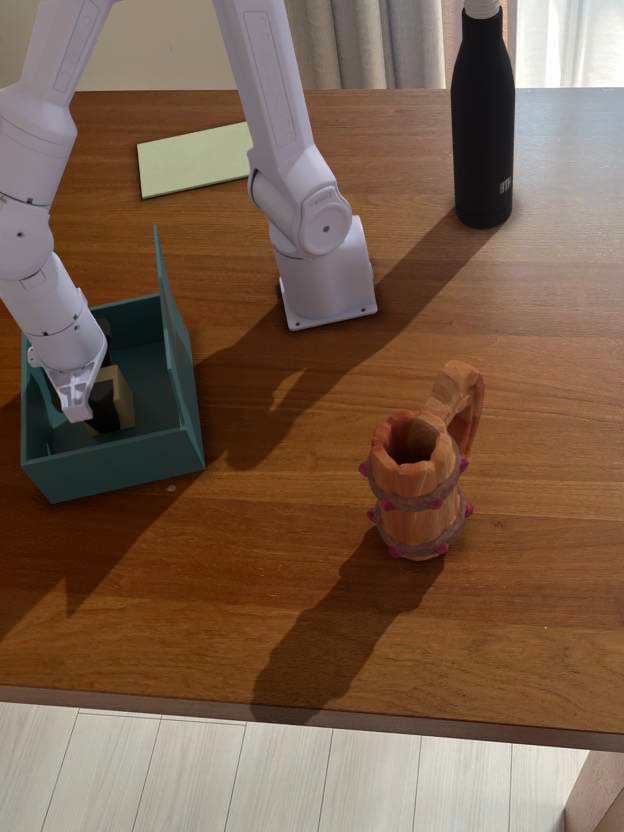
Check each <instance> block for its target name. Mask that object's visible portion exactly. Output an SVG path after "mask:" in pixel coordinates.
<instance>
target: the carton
mask: <svg viewBox="0 0 624 832" xmlns="http://www.w3.org/2000/svg"><path fill="white" fill-rule="evenodd" d="M171 300H172V309H173V318H174V327H175V336H176V345H177V354H178V363H179V372H180V381H181V390H182V399H183V408H184V417H185V425H182V423H181V419H180V416H179V412H178V408H177V404H176V400H175V396H174V392H173V388H172V385H171V381H170V377H169V373H168V369H167V359H166V349H165V340H164V330H163V320H162V310H161V301H160V291H159V292H155V293H151V294H145V295H142V296H136V297H132V298H128V299H121V300H117V301H114V302H109V303H104V304H100V305H95V306H91V307H88V309H89V311H90V312H91V314H92V315H93V317H94V319H100V318H101V319H105V320H107V321H108V323H109V325H110V336H111V338H110V345H109V348H110V353H111V358H112V362H113V365H117V366H118V368H119V369H120V371H121V373H122V375H123V377H124V378H125V380H126V382H127V384H128V386H129V387H130V389H131V391H132V393H133V405H134V419H135V427H130V428H126V429H121V430H119V431H114V432H110V433H105V434H98V435H94V436H91V434H90V433H89V431H88V430H87V428H86V427H85V425H84V424H83V422H82V421H79V422H74V423H70V421H69V420H68V418H67V417H66V415H65V414H64V413H60V412H58V411H57V410H56V409H55V408H54V406H53V405H52V403H51V388H54V386H53V384H52V382H51V381H50V379H49V377H48V375H47V373H46V372H45V370H44V368H43V367H31V365H30V364H29V362H28V349H29V348H30V347H32V345H31V343H30V342H29V340H28V339H27V337H26V336H25V334H24V333H23V331H22V330H21V336H20V337H21V346H20V347H21V348H20V349H21V350H20V351H21V353H20V356H21V359H20V360H21V362H20V363H21V364H20V468H21V469H22V470H23V471H24V472H25V473H26V474H27V476H28V477H29V478H30V480H31V481H32V482H33V483H34V484H35V486H36V487H37V488H38V490H40V492H41V493H42V494H43V495H44V497H45V498H46V499H47V500H48V502H49V503H50V504H51V505H54V504H59V503H63V502H68V501H72V500H77V499H81V498H86V497H89V496H90V497H91V496H94V495H99V494H103V493H107V492H112V491H116V490H121V489H126V488H130V487H134V486H138V485H139V486H140V485H144V484H147V483H153V482H156V481H162V480H166V479H170V478H176V477H179V476H184V475H188V474H192V473H197V472H201V471H205V470H206V461H205V452H204V445H203V438H202V437H203V436H202V430H201V429H202V428H201V421H200V412H199V406H198V405H199V404H198V396H197V388H196V387H197V386H196V379H195V372H194V364H193V355H192V346H191V339H190V333H189V331H188V328H187V326H186V324H185V321H184V319H183V317H182V314H181V312H180V309H179V307H178V305H177V303H176V300H175V298H174V296H173V294H172V292H171Z"/></svg>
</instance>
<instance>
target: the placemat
mask: <svg viewBox="0 0 624 832" xmlns="http://www.w3.org/2000/svg"><path fill="white" fill-rule="evenodd" d="M252 146H253V142H252V138H251V135H250V131H249V128H248V124H247V121H242V122H238V123H234V124H233V123H232V124H228V125H223V126H219V127H215V128H210V129H209V128H208V129H204V130H200V131H195V132H191V133H186V134H181V135H176V136H171V137H166V138H162V139H156V140H153V141H148V142H143V143H137V155H138V156H137V157H138V167H139V168H138V169H139V179H140V187H141V189H140V190H141V196H142V197H141V198H142V200H145V199H150V198H155V197H159V196H163V195H168V194H173V193H178V192H184V191H187V190H193V189H197V188H201V187H206V186H212V185H215V184H221V183H224V182H225V183H226V182H231V181H233V180H239V179H243V178H247V177H248V178H249V172H250V166H249V161H248V157H247V151H248V150H249V149H250V148H251V147H252Z"/></svg>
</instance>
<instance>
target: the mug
mask: <svg viewBox="0 0 624 832" xmlns="http://www.w3.org/2000/svg"><path fill="white" fill-rule="evenodd" d="M435 378H436V379H435V381H434V383H433V386H432V389H431V391H430V393H429V395H428V397H427V399H426V401H425V403H424V404H423V405H422V407H421V408H420V410H419V412H418V413H413V412H412V411H410V410H407V409H405V410H400V411H396V412H394V413H392V414H391V415H390V416H389V417H388V418H387V421H386V422H381V423H379V424H378V425H377V426H376V428H375V429H374V430H373V434H372V438H371V439H370V445H371V449H370V451H369V453H368V455H367V457H366V460H364V461H362V462H361V463H360V464H359V466H358V467H357V471H358V472H359V473H360V474H361V475H362V476H363V477H365V478H367V480H368V484H369V488H370V490H371V491H372V493H373V495H374V497H375V498H377V500H376V503H375V506H372V507H370V508H368V510H367V511H366V516H367V519H368V520H369V521H370V522H372V523H375V525H376V528H377V530H378V533H379V536H380V537H381V539H382V541H383V542H384V543H385V544H386V546H388V554H389V555H390V557H392V558H394V559H395V558H400V557H401V558H404V559H408V560H411V561H413V562H414V561H416V562H417V561H426V560H431V559H432V558H436V557H438V556H440V555H443V554H445V553H447V552H448V551H449V547H450V546H451V545H452V544H453V543H454V542H455V541H456V540H457V539H458V538H459V536H460V535H461V532H462V531H463V529H464V527H465V523H466V520H467V518H470V517H471V516H472V515H473V513H474V506H473V504H472V503H470V502H469V501H466V497H465V493H464V490H463V488H462V487H461V486H462V485H460V483H459V480H460V477H461V474H462V473H464V472H465V471H466V470H467V469H468V467H469V465H470V462H469V461H468V459H469V458H470V455H471V450H472V446H473V443H474V440H475V437H476V434H477V431H478V427H479V423H480V420H481V417H482V413H483V406H484V399H485V391H486V390H485V389H486V385H485V382H484V381H485V380H484V378H483V375H482V373H481V371H480V369H479V368H476V367H474V366H473V365H470V364H469V363H465V362H463V361H459V360H455V359H450V360H449V361H447V362H446V363H444V364H443V366H441V368H440V370H439V371H438V373H437V376H436V377H435Z"/></svg>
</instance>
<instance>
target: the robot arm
mask: <svg viewBox="0 0 624 832" xmlns="http://www.w3.org/2000/svg"><path fill="white" fill-rule="evenodd" d="M122 1H123V0H40V1H39V4H38V9H37V12H36V16H35V20H34V24H33V28H32V32H31V35H30V39H29V43H28V47H27V52H26V55H25V59H24V62H23V67H22V72H21V75H20V79H19V81H17V82H16V83H13V84H10V85H8V86H6V87H3V88H0V299H1V301H2V302H3V304H4V306H5V307H6V308H7V310H8V311H9V313H10V315H11V316H12V317H13V319H14V321H15V322H16V324H17V325H18V327H19V328H20V330H21V332H22V331H23V333H24V334H25V336H26V337H27V339H28V340H29V342H30V343H31V345H32V347H30V348H29V349H28V362H29V364H30V365H31V367H43V368H44V370H45V372H46V373H47V375H48V377H49V379H50V381H51V382H52V384H53V386H54V388H51V403H52V405H53V406H54V408H55V409H56V410H57V411H58V412H60V413H64V414H65V415H66V417H67V418H68V420H69V421H70V423H74V422H79V421H84V422H85V423H87V424H88V425H89V426H91V427H92V428H93V429H95V430H96V431H97V432H99V433H100V434H105V433H110V432H114V431H119V430H120V420H119V416H118V413H117V410H116V408H115V405H114V402H113V398H114V385H113V379H110V380H105V381H100V382H96V383H95V379H96V377H97V374H98V372H99V369H100V368H104V367H108V366H113V362H112V358H111V353H110V348H109V345H110V338H111V336H110V325H109V323H108V321H107V320H105V319H101V318H100V319H94V317H93V315H92V314H91V312H90V311H89V309H88V308H89V302H88V300H87V298H86V296H85V295H84V293H83V291H82V289H81V288H80V287H77V288H76V286H75V284H74V282H73V281H72V278H71V277H70V275H69V272H67V269H66V267H65V266H64V264H63V262H62V261H61V258H60V257H59V256H58V255H57V253H56V252H54V249H55V239H54V236H53V235H54V234H53V232H52V230H51V228H50V225H49V222H50V221H49V220H50V218H51V215H50V213H49V212H50V211H51V207H52V204H53V203H54V199H55V196H56V194H57V192H58V189H59V185H60V183H61V181H62V177H63V175H64V171H65V169H66V166H67V164H68V161H69V158H70V155H71V153H72V149H73V147H74V144H75V142H76V139H77V136H78V128H77V126H76V123H75V122H74V120H73V117H72V115H71V111H70V105H71V102H72V99H73V97H74V95H75V93H76V90H77V88H78V85H79V83H80V81H81V78H82V76H83V74H84V72H85V69H86V67H87V65H88V63H89V60H90V58H91V55H92V53H93V51H94V48H95V46H96V44H97V42H98V39H99V37H100V35H101V33H102V30H103V28H104V26H105V24H106V22H107V19H108V17H109V15H110V12H111V10H112V7H113V6H114V5H115V4H116V3H118V2H122ZM211 2H212V5H213V9H214V13H215V15H216V20H217V23H218V27H219V30H220V33H221V36H222V41H223V44H224V48H225V51H226V54H227V58H228V61H229V65H230V68H231V71H232V72H231V73H232V75H233V79H234V82H235V85H236V86H235V87H236V90H237V93H238V96H239V101H240V103H241V106H242V110H243V113H244V117H245V122H247V124H248V128H249V131H250V135H251V138H252V142H253V146H252V147H251V148H250V149H249V150H248V151H247V157H248V161H249V166H250V172H249V177H248V179H247V194H248V197H249V199H250V201H251V202H252V204H253V205H254V206H255V207H256V208H257V209H259V210H261V211H262V212H263V213H264V214H265V215H266V219H267V223H268V236H269V240H270V243H271V247H272V251H273V254H274V258H275V263H276V266H277V270H278V273H279V276H280V277H278V281H279V287H280V292H281V296H282V300H283V301H282V302H283V305H284V306H283V307H284V310H285V316H286V322H287V327H288V330H290V332H295V331H300V330H305V329H308V328H309V329H310V328H315V327H318V326H322V325H328V324H332V323H337V322H342V321H346V320H350V319H355V318H360V317H363V316H368V315H374V314H376V313H377V312H378V305H377V301H376V295H375V288H374V281H373V280H375V277H374V270H373V267H372V263H371V261H370V255H369V251H368V246H367V242H366V236H365V232H364V227H363V224H362V220H361V218H360V215H358V214H357V215H355V214H354V215H353V211H352V210H353V209H352V207H351V204H350V203H349V202H348V200H347V199H345V197H343V195H342V194H341V192H340V191H339V190H340V189H339V187H338V183H337V182H338V181H337V179H336V177H335V175H334V173H333V172H332V170H331V168H330V166H329V165H328V164H327V162H326V160H325V159H324V157H323V156H322V154H321V152H320V151H319V149H318V147H317V145H316V144H315V141H314V135H313V131H312V127H311V122H310V117H309V112H308V108H307V103H306V99H305V94H304V88H303V85H302V80H301V75H300V70H299V67H298V66H299V65H298V61H297V57H296V52H295V48H294V43H293V39H292V33H291V29H290V25H289V19H288V16H287V11H286V6H285V1H284V0H211Z"/></svg>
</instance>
